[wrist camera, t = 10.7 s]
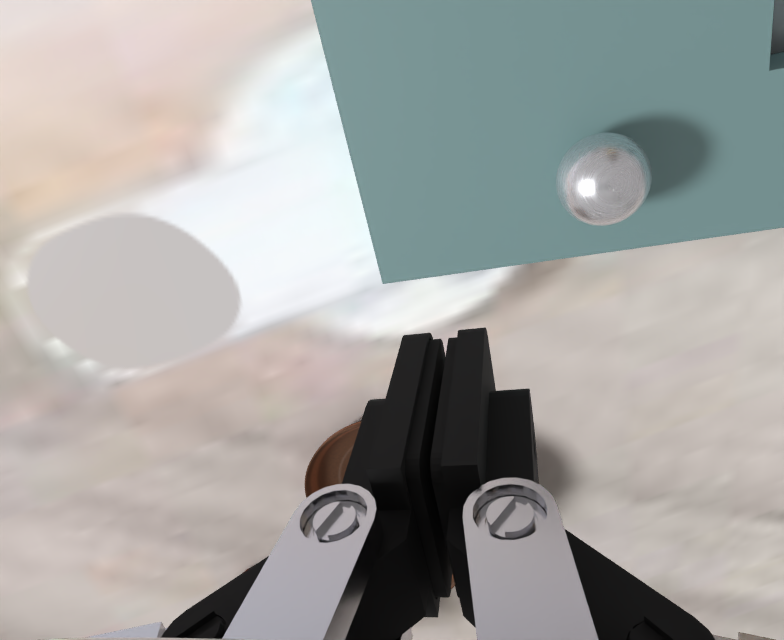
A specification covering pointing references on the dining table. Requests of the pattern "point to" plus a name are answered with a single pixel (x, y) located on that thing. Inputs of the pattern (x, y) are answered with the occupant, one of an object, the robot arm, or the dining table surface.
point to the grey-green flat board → (551, 122)
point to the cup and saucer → (333, 462)
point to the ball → (603, 179)
